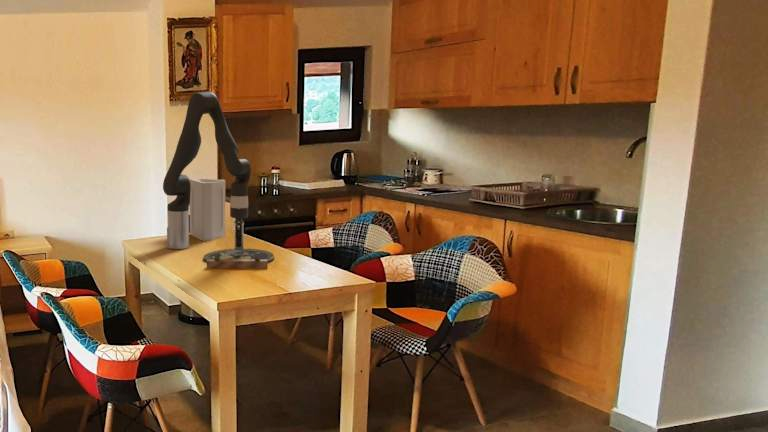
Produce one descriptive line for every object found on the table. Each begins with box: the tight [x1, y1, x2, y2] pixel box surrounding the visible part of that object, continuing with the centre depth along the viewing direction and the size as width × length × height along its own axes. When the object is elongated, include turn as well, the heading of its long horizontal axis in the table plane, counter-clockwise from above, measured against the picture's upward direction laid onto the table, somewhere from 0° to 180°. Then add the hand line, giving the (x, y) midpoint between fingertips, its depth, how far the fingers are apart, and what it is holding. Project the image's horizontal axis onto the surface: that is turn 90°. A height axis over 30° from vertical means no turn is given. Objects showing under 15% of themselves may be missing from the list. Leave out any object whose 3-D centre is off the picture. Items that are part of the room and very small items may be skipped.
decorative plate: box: [202, 248, 275, 264], centre depth 294 cm, size 30×2×30 cm
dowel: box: [234, 232, 244, 251], centre depth 293 cm, size 4×4×9 cm
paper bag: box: [189, 178, 226, 242], centre depth 339 cm, size 19×15×28 cm
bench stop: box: [206, 253, 268, 269], centre depth 278 cm, size 24×3×6 cm, turn 100°
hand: (239, 245), depth 293 cm, fingers closed on dowel, 3 cm apart
